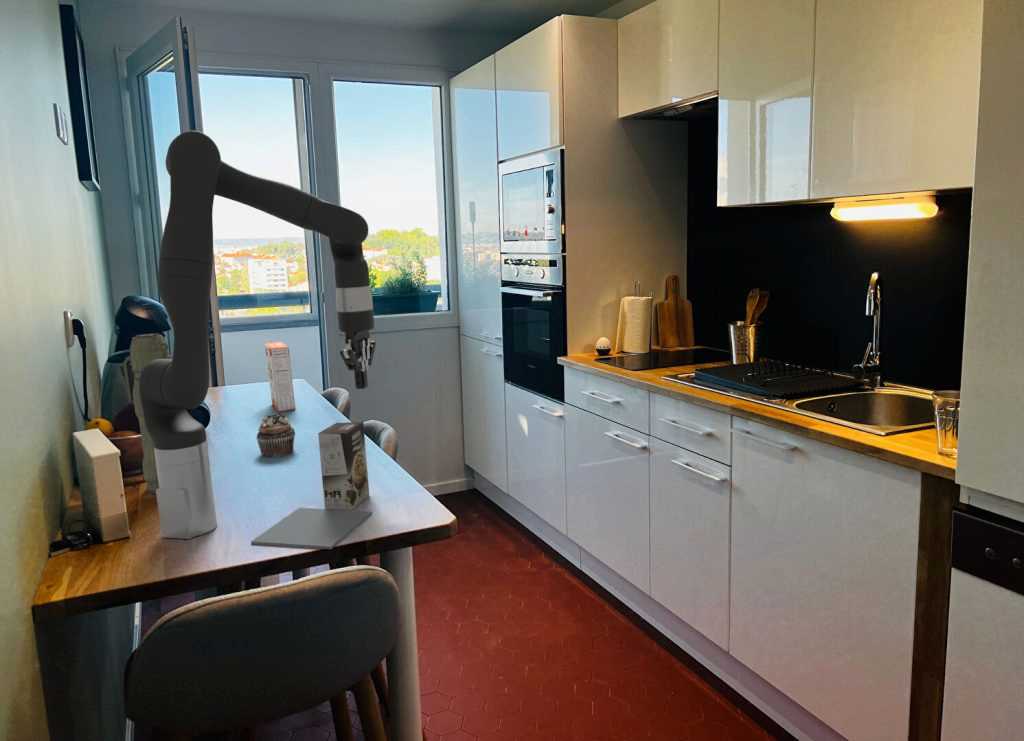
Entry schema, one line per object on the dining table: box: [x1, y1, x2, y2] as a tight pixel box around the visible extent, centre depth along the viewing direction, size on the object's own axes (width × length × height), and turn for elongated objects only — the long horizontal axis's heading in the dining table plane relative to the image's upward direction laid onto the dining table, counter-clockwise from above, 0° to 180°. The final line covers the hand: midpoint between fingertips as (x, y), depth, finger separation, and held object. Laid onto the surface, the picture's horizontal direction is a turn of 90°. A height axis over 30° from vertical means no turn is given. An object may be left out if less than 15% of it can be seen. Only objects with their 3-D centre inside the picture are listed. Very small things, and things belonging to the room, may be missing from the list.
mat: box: [250, 507, 373, 550], centre depth 144 cm, size 17×16×1 cm
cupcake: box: [256, 412, 296, 458], centre depth 196 cm, size 10×10×10 cm
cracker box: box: [264, 341, 296, 413], centre depth 248 cm, size 14×6×21 cm, turn 25°
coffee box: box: [317, 421, 370, 511], centre depth 155 cm, size 9×6×16 cm
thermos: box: [122, 333, 173, 494], centre depth 170 cm, size 9×12×35 cm
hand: (361, 388), depth 164 cm, fingers closed
